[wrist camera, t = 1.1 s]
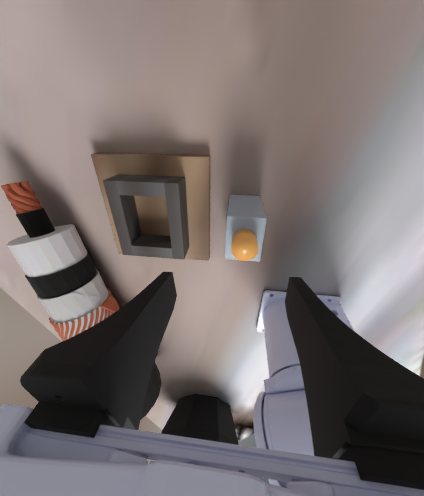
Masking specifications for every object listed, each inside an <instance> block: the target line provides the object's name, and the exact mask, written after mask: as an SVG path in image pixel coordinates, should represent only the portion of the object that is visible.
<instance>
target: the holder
mask: <svg viewBox="0 0 424 496" xmlns="http://www.w3.org/2000/svg"><path fill="white" fill-rule="evenodd" d="M91 156H92V160H93V163H94V167H95V170H96V174H97V177H98V181H99V185H100V188H101V192H102V195H103V199H104V202H105V206H106V209H107V213H108V216H109V220H110V223H111V227H112V230H113V234H114V237H115V241H116V245H117V248H118V252H119V254H123V255H135V256H148V257H161V258H173V259H196V260H209V258H210V156H196V155H158V154H120V153H94V154H91Z"/></svg>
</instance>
